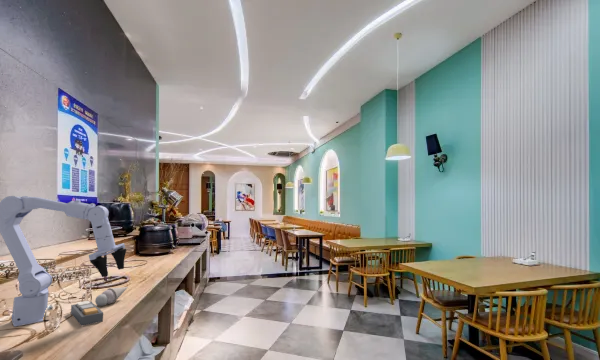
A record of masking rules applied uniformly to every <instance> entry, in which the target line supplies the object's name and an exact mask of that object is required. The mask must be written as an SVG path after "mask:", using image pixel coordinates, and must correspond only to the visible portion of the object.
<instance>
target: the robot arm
mask: <svg viewBox="0 0 600 360" xmlns="http://www.w3.org/2000/svg"><path fill="white" fill-rule="evenodd" d="M39 209H44V210H51V211H55V212H56V211H57V212H63V213H64V214H65V215H66V216H67V217H71V218H76V219H80V220H88V221H89V222H90V223H91V227H92V231H93V235H94V239H95V243H96V248H97V251H95V252H94V253H91V254H88V259H89V262H90V264H92V265H93V266H94V267H95V268H96V269H97V271H98V272H99V274H100V276H101V277H102V278H104V277H108V276H109V271H108V267H107V266H108V265H107V259H108V258H107V257H108V256H106V255H110V254H111V256H112V257H113V259H114V261H115V264H116V267H117V269H118V270H124V269H125V259H126V258H125V257H126V253H127V248H126V245H125V242H124V243H119V244H116V242H115V238H114V235H113V230H112V227H111V223H110V221H109V213H110V211H109V209H108V208H107V207H106V206H103V205H97V206H95V203H93V202H92V203H85V202H82V201H81V200H79V199H75V200H71V201H69V202H67V203H66V202H62V201H59V200H58V201H57V200H53V199H50V198H46V197H40V196H27V195H23V196H20V195H17V196H15V195H8V196H5V197H3V198H2V200H1V201H0V235H1V237H2V239H3V241H4V243H5V245H6V247H7V250H8V251H9V253H10V256H11V258H12V260H13V261H14V264H15V266H16V268H17V270H18V277H17V281H18V283H19V284H18V291H19V293H20V294H21V295H19V296H15V297H14V298H13V303H12V304H13V305H12V314H11V322H12V325H13V327H15V328H16V327H20V326H24V325H30V324H34V323H40V322H41V323H42V322H44V321H43V317H44V313H45V310H46V308H47V309H48V305H49V303H48V301H49V287H50V286H51V285H52V283H53V277H52V275H51V274H50V273H49V272H47V271H46V269H45V268H44V266H42V265H40V264H39V263H38V260H37V259H36V257H35V255H34V253H33V251H32V248H31V247H30V244H29V242H28V241H27V240H28V239H26V236H25V235H24V232H23V230H22V228H21V226H20V223H21V222H22V220H23V219H24V218H25V217H26V216H27V215H28V214H29V213H31V212H32V211H33V210H39ZM103 256H104V257H103Z"/></svg>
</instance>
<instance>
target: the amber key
mask: <svg viewBox="0 0 600 360" xmlns="http://www.w3.org/2000/svg"><path fill="white" fill-rule="evenodd" d="M83 313H84V315H90V314H95V313H98V310H97V309H96V308H95V307H94V308H89V309H84V310H83Z"/></svg>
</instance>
